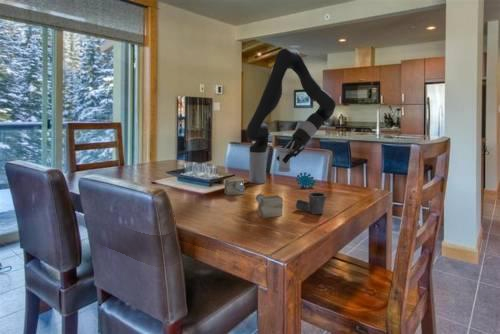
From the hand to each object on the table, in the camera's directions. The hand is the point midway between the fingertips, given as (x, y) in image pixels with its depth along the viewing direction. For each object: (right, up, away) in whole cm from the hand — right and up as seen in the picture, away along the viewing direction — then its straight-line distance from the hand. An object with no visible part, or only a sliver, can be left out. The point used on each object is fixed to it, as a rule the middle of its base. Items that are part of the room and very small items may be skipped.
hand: (281, 160), depth 157 cm
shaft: (-8, -18, -15) cm, 25 cm away
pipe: (+11, -21, -16) cm, 29 cm away
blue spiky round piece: (+16, -14, +29) cm, 36 cm away
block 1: (-21, -16, +14) cm, 30 cm away
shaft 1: (-19, -14, +8) cm, 25 cm away
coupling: (+2, -4, +2) cm, 5 cm away
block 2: (-6, -21, -20) cm, 30 cm away
